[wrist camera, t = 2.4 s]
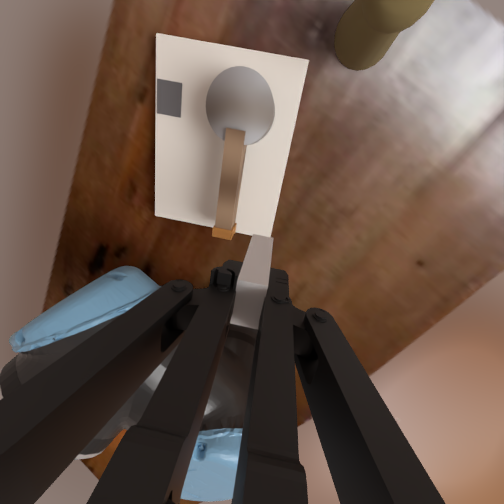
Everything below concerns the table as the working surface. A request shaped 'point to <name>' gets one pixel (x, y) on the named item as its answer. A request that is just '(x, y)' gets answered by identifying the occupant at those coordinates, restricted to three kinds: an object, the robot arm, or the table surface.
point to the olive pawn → (374, 29)
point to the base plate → (208, 143)
